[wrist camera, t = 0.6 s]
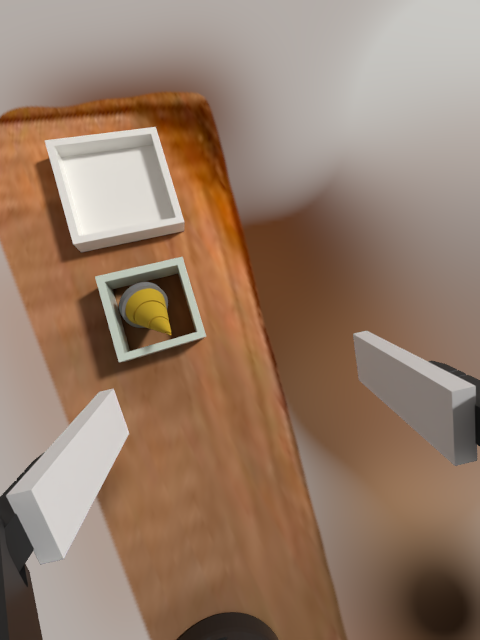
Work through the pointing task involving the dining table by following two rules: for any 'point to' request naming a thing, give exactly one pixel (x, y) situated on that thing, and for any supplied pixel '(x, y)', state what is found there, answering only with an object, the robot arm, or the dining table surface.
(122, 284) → the pale green square frame
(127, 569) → the dining table surface
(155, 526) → the dining table surface
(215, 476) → the dining table surface
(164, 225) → the tray
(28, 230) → the dining table surface
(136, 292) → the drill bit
